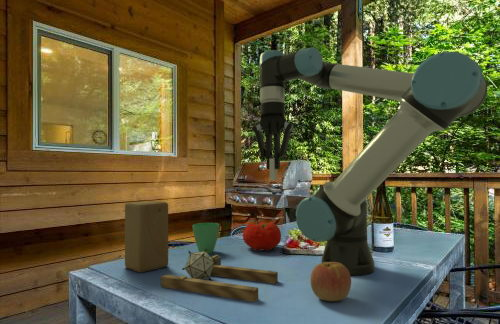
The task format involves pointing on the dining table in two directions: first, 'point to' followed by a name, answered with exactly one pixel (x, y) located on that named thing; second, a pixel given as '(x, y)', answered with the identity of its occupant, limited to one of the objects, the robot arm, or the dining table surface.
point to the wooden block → (146, 235)
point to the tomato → (262, 236)
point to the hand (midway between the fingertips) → (273, 180)
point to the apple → (330, 281)
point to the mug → (206, 236)
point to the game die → (199, 265)
